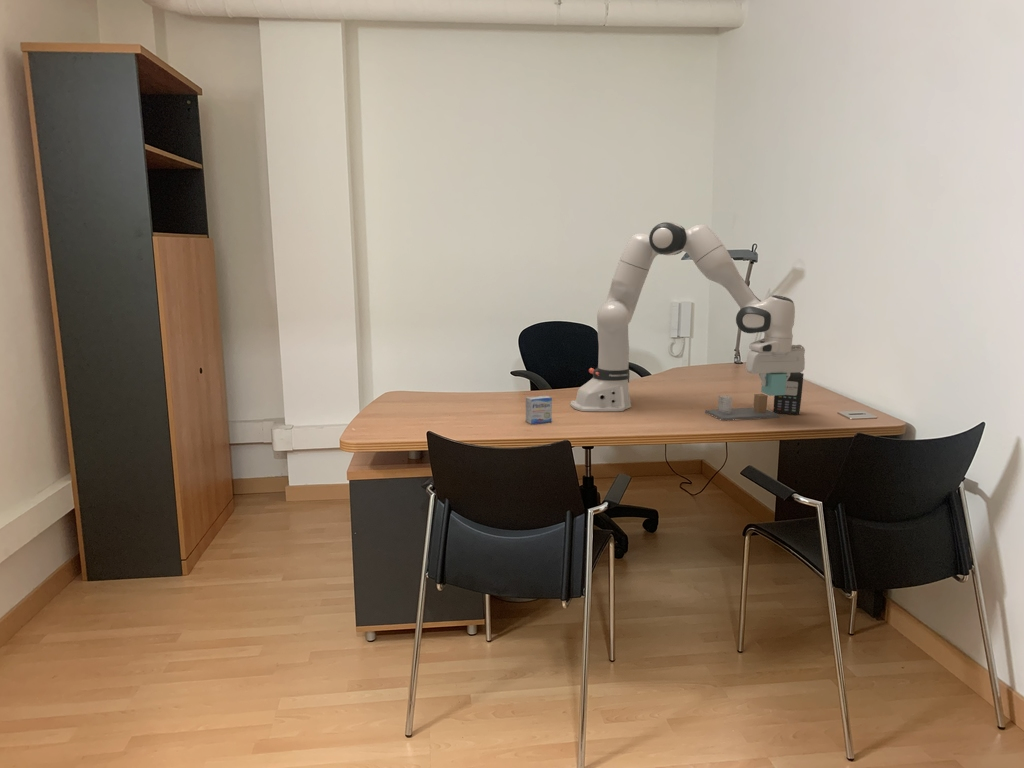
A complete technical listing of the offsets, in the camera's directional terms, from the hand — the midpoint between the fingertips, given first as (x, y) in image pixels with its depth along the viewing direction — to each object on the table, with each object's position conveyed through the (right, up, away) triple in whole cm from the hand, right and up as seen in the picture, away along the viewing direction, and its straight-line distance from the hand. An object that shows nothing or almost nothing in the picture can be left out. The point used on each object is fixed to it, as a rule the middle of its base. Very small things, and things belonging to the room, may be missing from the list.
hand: (773, 385), depth 242 cm
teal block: (0, -3, +1) cm, 3 cm away
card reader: (+10, -10, +16) cm, 22 cm away
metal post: (-13, -11, +12) cm, 21 cm away
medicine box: (-79, -12, +2) cm, 80 cm away
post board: (-6, -10, +13) cm, 18 cm away
